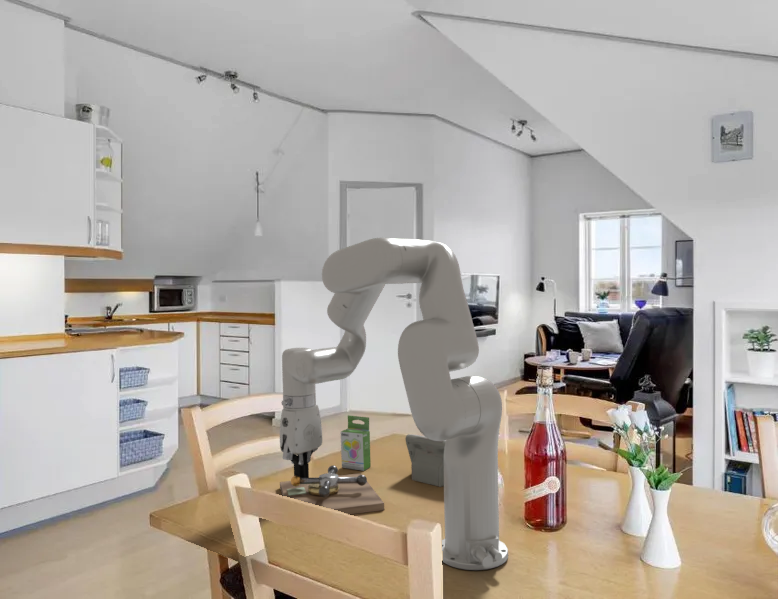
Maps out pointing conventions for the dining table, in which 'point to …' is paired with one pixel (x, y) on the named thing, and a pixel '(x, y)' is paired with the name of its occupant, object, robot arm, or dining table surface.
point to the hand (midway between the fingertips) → (301, 480)
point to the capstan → (327, 482)
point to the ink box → (356, 444)
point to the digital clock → (426, 459)
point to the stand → (338, 497)
